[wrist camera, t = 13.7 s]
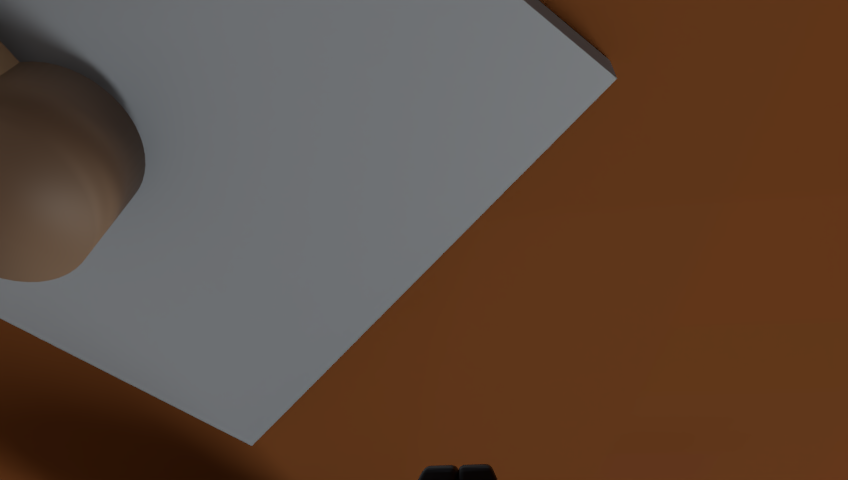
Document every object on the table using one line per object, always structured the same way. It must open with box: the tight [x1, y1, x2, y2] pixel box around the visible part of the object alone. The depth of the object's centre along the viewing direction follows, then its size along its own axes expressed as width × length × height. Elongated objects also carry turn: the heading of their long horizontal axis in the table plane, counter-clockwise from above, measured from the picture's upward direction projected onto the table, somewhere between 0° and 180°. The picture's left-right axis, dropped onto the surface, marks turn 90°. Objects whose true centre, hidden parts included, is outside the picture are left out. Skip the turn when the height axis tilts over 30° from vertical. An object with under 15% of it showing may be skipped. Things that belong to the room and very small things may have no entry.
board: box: [0, 0, 617, 446], centre depth 19 cm, size 18×20×1 cm
